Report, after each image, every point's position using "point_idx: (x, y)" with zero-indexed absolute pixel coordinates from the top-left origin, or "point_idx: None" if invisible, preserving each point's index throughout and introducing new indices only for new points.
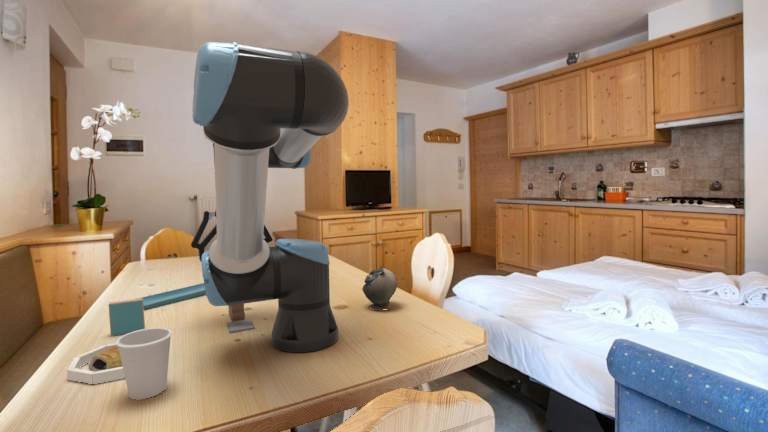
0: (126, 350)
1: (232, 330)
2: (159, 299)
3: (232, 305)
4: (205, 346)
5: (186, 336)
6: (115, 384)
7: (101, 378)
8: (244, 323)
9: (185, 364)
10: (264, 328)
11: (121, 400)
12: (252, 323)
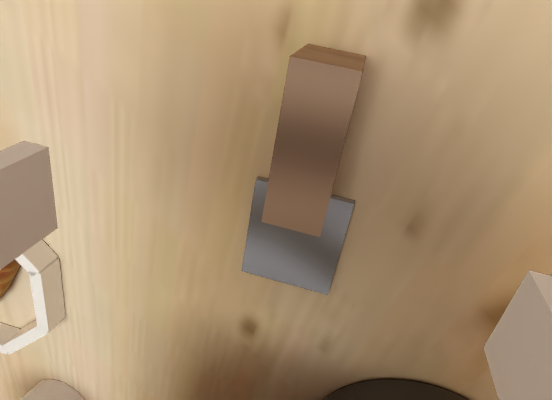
0: None
1: (251, 270)
2: None
3: (265, 221)
4: (163, 305)
5: (118, 195)
6: None
7: None
8: (310, 238)
9: (115, 358)
10: (355, 309)
11: None
12: (335, 258)
